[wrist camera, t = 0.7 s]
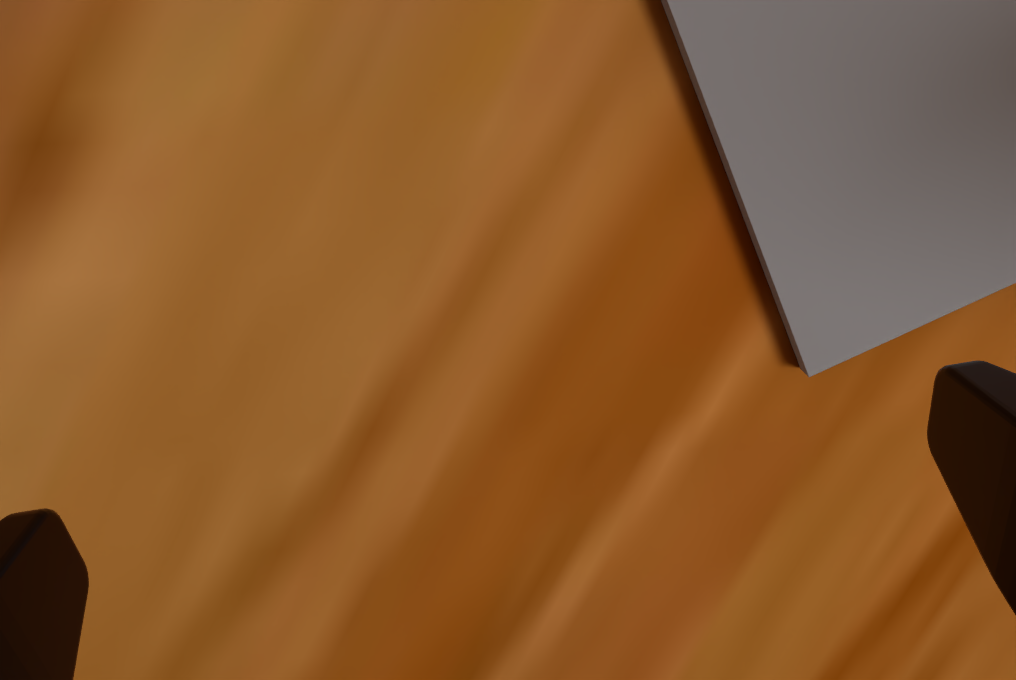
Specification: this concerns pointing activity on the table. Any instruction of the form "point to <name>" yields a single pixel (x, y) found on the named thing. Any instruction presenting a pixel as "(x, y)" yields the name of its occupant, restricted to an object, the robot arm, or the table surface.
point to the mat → (863, 155)
